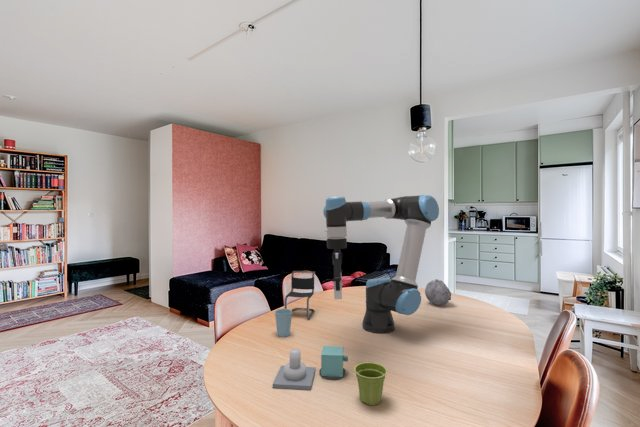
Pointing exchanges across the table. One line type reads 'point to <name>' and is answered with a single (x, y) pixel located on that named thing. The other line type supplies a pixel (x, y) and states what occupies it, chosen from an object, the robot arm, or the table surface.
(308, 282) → the chair
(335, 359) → the teal cube with tab
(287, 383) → the square plate with peg
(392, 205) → the robot arm
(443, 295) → the decorative orb
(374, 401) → the plant pot
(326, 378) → the coaster
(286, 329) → the cup
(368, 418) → the table surface
